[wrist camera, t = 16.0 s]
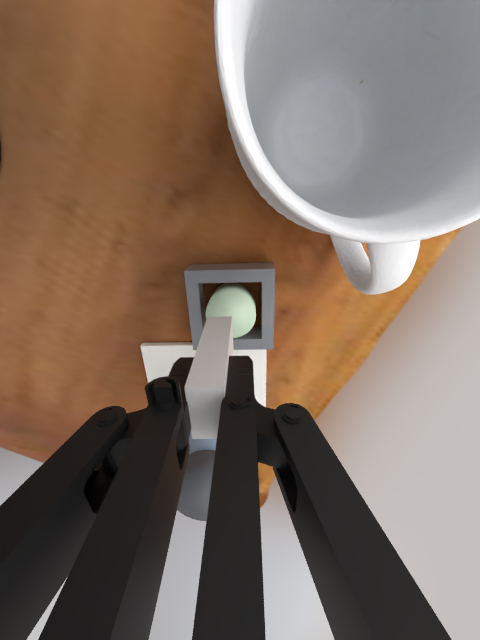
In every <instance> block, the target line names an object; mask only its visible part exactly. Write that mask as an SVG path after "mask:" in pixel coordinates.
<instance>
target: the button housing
mask: <svg viewBox="0 0 480 640" xmlns="http://www.w3.org/2000/svg"><path fill="white" fill-rule="evenodd" d="M184 277H185V286H186V294H187V303H188V311H189V319H190V328H191V336H192V344H193V350H197V347H198V344H199V341H200V338H201V335H202V332H203V329H204V326H205V322H206V304H205V293H204V283H235V282H261V327H252V329H251V330H250V331H249V332H248V333H246V334H245V335H243V336H240V337H237V338H233V349H234V350H256V349H274V308H275V267H274V264H273V262H268V263H228V264H190V265H189V266H188V267H187V268H186V269H185V270H184Z"/></svg>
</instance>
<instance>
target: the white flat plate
mask: <svg viewBox="0 0 480 640" xmlns="http://www.w3.org/2000/svg"><path fill="white" fill-rule="evenodd" d="M140 347H141V351H142V356H143V361H144V366H145V370H146V375H147V380H148V383H149V382H151V381H152V380H154V379H156V378H159V377H165V376H169V373H170V371H171V368H172V366H173V364H174V363H175V362H176V361H177V360H178V359H179V358H180V357H194V356H195V353H196V350H193V344H192V342H166V343H142V344H141V346H140ZM234 356H249V357H250V358H251V359H252V361H253V374H254V395H255V398H256V400H257V402H259V403H260V404H261V405H263V406H264V407H266V349H256V350H234Z"/></svg>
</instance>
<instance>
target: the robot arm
mask: <svg viewBox="0 0 480 640" xmlns="http://www.w3.org/2000/svg"><path fill="white" fill-rule="evenodd" d="M0 159H1V145H0ZM145 391H146V395H147V399H148V407H147V408H145V409H142V410H139V411H135V412H131V413H126V411H125V409H124V408H122V407H120V406H110V407H106V408H104V409H102V410H99V411H98V412H96V413H95V414H94V415H93V416H91V417H90V418H89V419H88V420H87V421H86V422H85V423H84V424H83V425H82V426H81V427H80V428H79V429H78V430H77V431H76V432H75V433H74V434H73V435H72V436H71V437H70V438H69V439H68V440H67V441H66V442H65V443H64V444H63V445H62V446H61V447H60V448H59V449H58V450H57V451H56V452H55V453H54V454H53V455H52V456H51V457H50V458H49V459H48V460H47V461H46V462H45V463H44V464H43V465H42V466H41V467H40V468H39V469H38V470H37V471H35V472H34V474H33V475H31V476H30V477H29V478H28V479H27V480H26V481H25V482H24V483H23V484H22V485H21V486H20V487H19V488H18V489H17V490H16V491H15V492H14V493H13V494H12V495H11V496H10V497H9V498H8V499H7V500H6V501H5V502H4V503H3V504H2V505H1V506H0V640H26V639H27V638H28V636H29V635H30V633H31V632H32V630H33V628H34V627H35V625H36V624H37V622H38V621H39V619H40V618H41V616H42V614H43V613H44V612H45V610H46V609H47V607H48V605H49V604H50V602H51V601H52V599H53V598H54V596H55V595H56V593H57V592H58V590H59V589H60V587H61V586H62V584H63V583H64V581H65V579H66V578H67V580H66V582H65V584H64V586H63V588H62V590H61V592H60V594H59V597H58V599H57V601H56V603H55V605H54V607H53V609H52V612H51V614H50V616H49V618H48V620H47V622H46V624H45V626H44V629H43V631H42V633H41V635H40V637H39V639H38V640H148V639H149V634H150V630H151V625H152V621H153V616H154V611H155V607H156V602H157V598H158V593H159V588H160V584H161V579H162V575H163V570H164V566H165V561H166V556H167V552H168V548H169V543H170V538H171V534H172V529H173V525H174V520H175V515H176V511H177V506H178V502H179V497H180V493H181V488H182V484H183V479H184V474H185V470H186V465H187V461H188V456H189V452H190V445H189V437H190V432H191V435H192V439H217V441H216V449H215V457H214V465H213V474H212V482H211V490H210V498H209V506H208V514H207V523H206V530H205V539H204V547H203V555H202V564H201V571H200V579H199V588H198V596H197V604H196V612H195V620H194V629H193V636H192V640H265V619H264V596H263V573H262V551H261V550H262V549H261V527H260V502H259V479H258V462H260V463H263V464H267V465H270V466H273V470H274V473H275V475H276V478H277V481H278V484H279V486H280V489H281V492H282V495H283V497H284V500H285V503H286V506H287V509H288V511H289V514H290V517H291V519H292V522H293V525H294V528H295V531H296V534H297V536H298V539H299V542H300V544H301V547H302V550H303V553H304V556H305V559H306V561H307V564H308V567H309V570H310V572H311V575H312V578H313V581H314V583H315V586H316V589H317V592H318V595H319V597H320V600H321V603H322V606H323V608H324V611H325V614H326V617H327V620H328V622H329V625H330V628H331V631H332V633H333V636H334V639H335V640H451V638H450V637H449V635H448V633H447V632H446V630H445V629H444V627H443V625H442V624H441V622H440V621H439V619H438V618H437V616H436V614H435V613H434V611H433V609H432V608H431V606H430V605H429V603H428V602H427V600H426V598H425V597H424V595H423V594H422V592H421V590H420V589H419V587H418V585H417V584H416V582H415V581H414V579H413V577H412V576H411V574H410V573H409V571H408V570H407V568H406V566H405V565H404V563H403V562H402V560H401V558H400V557H399V555H398V554H397V552H396V550H395V549H394V547H393V546H392V544H391V542H390V541H389V539H388V538H387V536H386V534H385V533H384V531H383V530H382V528H381V526H380V525H379V523H378V522H377V520H376V518H375V517H374V515H373V514H372V512H371V511H370V509H369V508H368V506H367V504H366V503H365V501H364V499H363V498H362V496H361V495H360V493H359V492H358V490H357V488H356V487H355V485H354V483H353V482H352V480H351V479H350V477H349V476H348V474H347V472H346V471H345V469H344V467H343V466H342V464H341V463H340V461H339V460H338V458H337V456H336V455H335V453H334V451H333V450H332V449H331V447H330V445H329V443H328V442H327V440H326V439H325V437H324V436H323V434H322V432H321V431H320V429H319V428H318V426H317V424H316V423H315V421H314V420H313V418H312V416H311V415H310V413H309V412H308V411H307V410H306V409H305V408H304V407H302V406H300V405H298V404H294V403H285V404H282V405H280V406H279V407H277V408H276V409H275V410H274V409H270V408H267V407H264V406H263V405H261V404H260V403H259V402H257V400H256V398H255V395H254V374H253V361H252V359H251V358H250V357H249V356H234V349H233V329H232V316H222V317H207V319H206V322H205V326H204V329H203V332H202V335H201V338H200V341H199V344H198V347H197V350H196V353H195V356H194V357H180V358H179V359H178V360H177V361H176V362H175V363H174V364H173V366H172V368H171V371H170V373H169V376H165V377H159V378H156V379H154V380H152V381H151V382H149V383H148V384H147V385H146V386H145ZM67 576H68V577H67Z"/></svg>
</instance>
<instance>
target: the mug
mask: <svg viewBox="0 0 480 640" xmlns="http://www.w3.org/2000/svg"><path fill="white" fill-rule="evenodd" d="M214 41H215V53H216V63H217V71H218V77H219V83H220V88H221V94H222V97H223V101H224V106H225V110H226V117H227V120H228V128H229V131H230V132H231V138H232V140H233V142H234V146H235V148H236V152H237V155H238V157H239V159H240V163H241V164H242V168H243V169H244V170H245V172H246V175H247V177H248V178H249V180H250V181H251V182H252V184H253V187H254V188H255V189H256V190H257V191H258V192H259V194H260V196H261V197H262V198H264V199H265V200H266V202H267V203H268V204H269V205H270V206H272V207H273V208H274V209H275V210H276V211H277V212H278V213H280V214H282V215H284V216H285V217H286V218H287V219H289V220H291V221H293V222H294V223H295V224H298V225H299V226H303V227H305V228H307V229H310V230H311V231H314V232H319V233H325V234H328V235H330V237H331V240H332V242H333V245H334V248H335V251H336V254H337V256H338V259H339V261H340V264H341V266H342V269H343V270H344V272H345V274H346V276H347V278H348V279H349V281H350V282H351V284H352V285H353V286H354V287H355V288H356V289H357V290H358V291H360V292H361V293H364V294H380V293H385V292H388V291H391V290H393V289H395V288H397V287H399V286H400V285H401V284H403V283H404V282H405V281H406V280H407V278H408V277H409V275H410V273H411V271H412V269H413V267H414V264H415V261H416V258H417V255H418V251H419V246H420V240H423V239H428V238H431V237H435V236H439V235H442V234H445V233H447V232H450V231H453V230H455V229H458V228H460V227H463V226H465V225H467V224H469V223H471V222H473V221H475V220H478V219H479V218H480V0H214ZM361 242H362V243H367V248H368V253H369V259H368V257H367V255H366V253H365V251H364V249H363V247H362V244H361Z"/></svg>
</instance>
